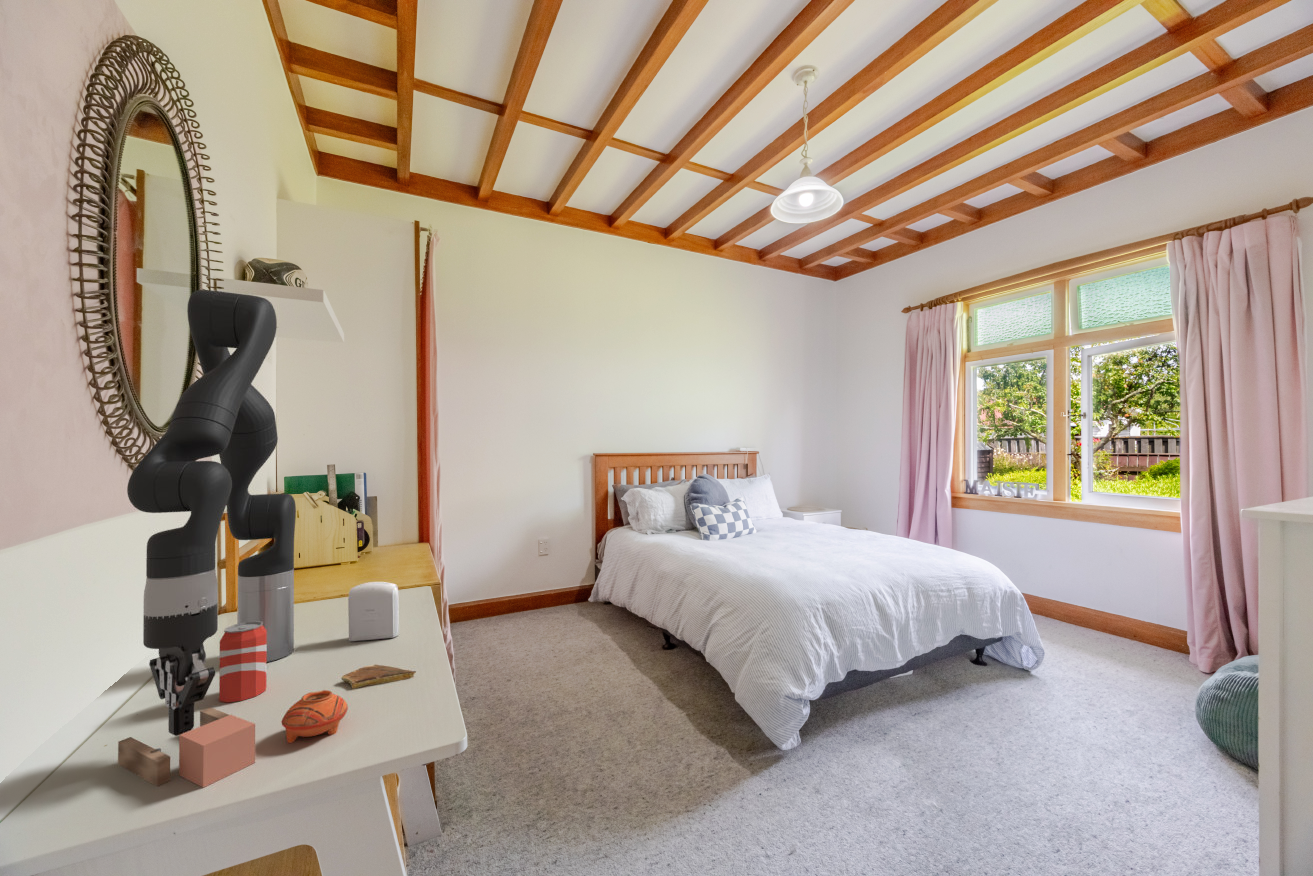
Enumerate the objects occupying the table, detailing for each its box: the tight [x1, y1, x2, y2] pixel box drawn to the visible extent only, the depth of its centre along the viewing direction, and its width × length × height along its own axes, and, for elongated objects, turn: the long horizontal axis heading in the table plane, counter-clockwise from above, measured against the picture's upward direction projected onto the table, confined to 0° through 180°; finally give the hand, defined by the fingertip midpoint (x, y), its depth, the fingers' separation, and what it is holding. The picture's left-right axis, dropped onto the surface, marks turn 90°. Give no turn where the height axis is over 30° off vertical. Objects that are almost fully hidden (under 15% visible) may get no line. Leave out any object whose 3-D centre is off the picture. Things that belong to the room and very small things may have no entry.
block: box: [178, 714, 256, 788], centre depth 66 cm, size 6×6×5 cm
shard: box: [340, 664, 417, 690], centre depth 92 cm, size 11×8×2 cm
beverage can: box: [218, 621, 268, 703], centre depth 87 cm, size 6×6×12 cm
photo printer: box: [347, 581, 400, 642], centre depth 115 cm, size 10×4×12 cm, turn 99°
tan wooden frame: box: [117, 707, 230, 788], centre depth 68 cm, size 15×10×4 cm, turn 64°
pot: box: [281, 689, 349, 744], centre depth 74 cm, size 8×8×7 cm
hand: (181, 731), depth 70 cm, fingers closed
